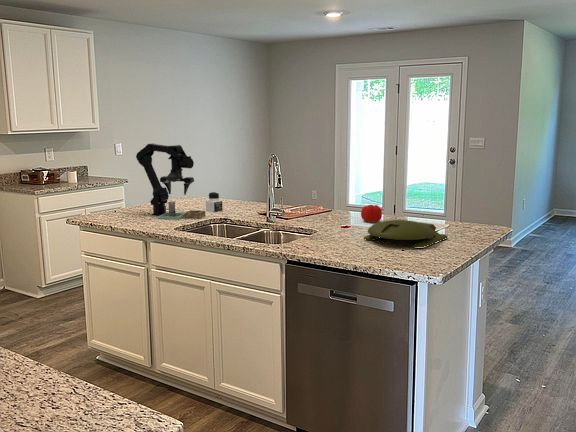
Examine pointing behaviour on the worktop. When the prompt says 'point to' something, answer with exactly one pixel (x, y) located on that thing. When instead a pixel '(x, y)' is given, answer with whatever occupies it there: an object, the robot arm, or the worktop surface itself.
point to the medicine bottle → (214, 203)
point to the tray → (165, 216)
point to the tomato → (371, 213)
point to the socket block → (194, 214)
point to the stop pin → (171, 209)
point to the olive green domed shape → (405, 231)
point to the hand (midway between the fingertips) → (177, 194)
